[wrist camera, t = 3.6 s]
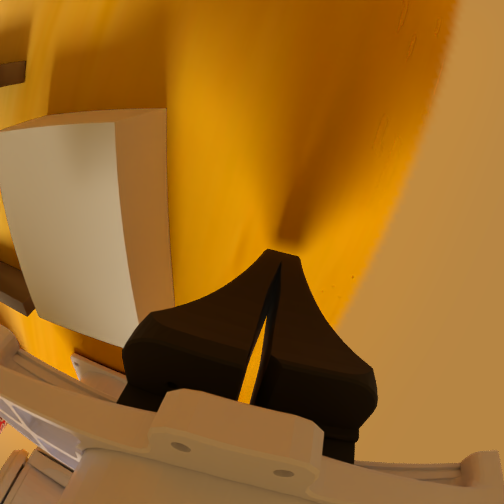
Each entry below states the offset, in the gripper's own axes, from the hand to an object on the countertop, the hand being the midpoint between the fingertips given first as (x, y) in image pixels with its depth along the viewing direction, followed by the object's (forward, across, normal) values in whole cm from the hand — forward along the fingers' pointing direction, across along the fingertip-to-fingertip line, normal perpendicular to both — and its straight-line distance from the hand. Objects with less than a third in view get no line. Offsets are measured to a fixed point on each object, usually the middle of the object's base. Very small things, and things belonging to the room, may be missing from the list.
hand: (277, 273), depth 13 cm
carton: (+2, +9, 0) cm, 9 cm away
